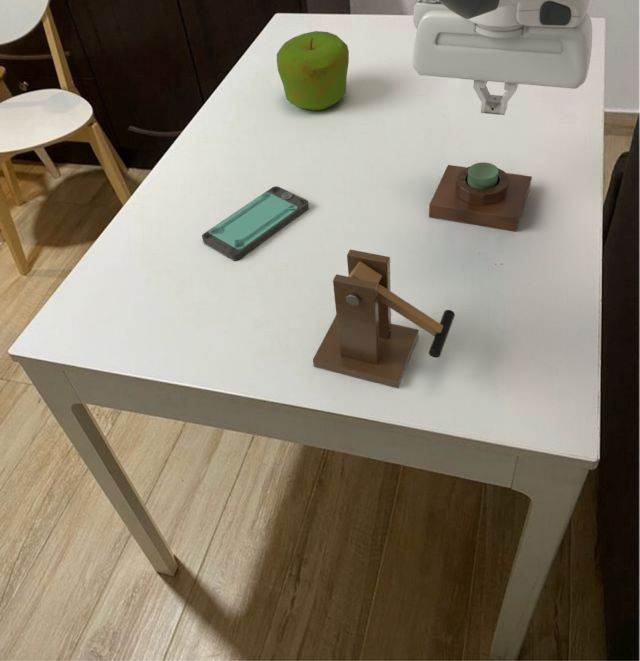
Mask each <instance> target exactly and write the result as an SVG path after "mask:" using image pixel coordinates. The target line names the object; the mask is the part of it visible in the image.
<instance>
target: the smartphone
mask: <svg viewBox="0 0 640 661" xmlns="http://www.w3.org/2000/svg"><path fill="white" fill-rule="evenodd" d="M309 205H310V204H309V201H308V200H307V199H306V198H304V197H301V196H299V195H297V194H295V193H292V192H291V191H288V190H287V189H284V188H283V187H281V186H277V185H276V186H272V187H271V188H269V189H268V190H266V191H265V192H263V193H262V194H260V195H259V196H257V197H256V198H254V199H253V200H251V201H250V202H249V203H247V204H245V205H244V206H242V207H241V208H239V209H238V210H237V211H235V212H233V213H232V214H231V215H228V217H225V219H223V220H221V221H220V222H219V223H217V224H216V225H214V226H213V227H211V228H209V229H208V230H207V231H206V232H203V233H202V235H201V239H202V242H203V244H205V245H207V246H208V247H209V248H212V249H213V250H214V251H216V252H218V253H219V254H222V255H223V256H225V257H227V258H229V259H231V260H232V261H238V260H240V259H241V258H243V257H244V256H245V255H247V254H248V253H250V252H251V251H252V250H254V249H255V248H256V247H258V246H260V245H261V244H262V243H264V241H266V240H268V239H269V238H270V237H272V236H273V235H274V234H276V233H277V232H279V231H280V230H281V229H283V228H284V227H286V226H287V225H289V224H290V223H292V221H294V220H295V219H297V218H298V217H299V216H301V215H302V214H304V213H305V212H307V211H309V208H310V206H309Z"/></svg>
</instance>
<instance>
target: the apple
mask: <svg viewBox="0 0 640 661" xmlns="http://www.w3.org/2000/svg"><path fill="white" fill-rule="evenodd" d="M349 58H350V51H349V47H348V44H346V42H345V41H343V39H341V38H340V37H339V36H338V35H337V34H334V33H331V32H328V31H319V30H314V31H309V32H305V33H301V34H298V35H296V36H294V37H291V38H290V39H288V40H287V41H285V42H284V43H283V44H282V46H281V47H280V48H279V49H278V51H277V53H276V67H277V72H278V75H279V77H280V80H281V83H282V86H283V90H284V94H285V97H286V100H287V101H288V102H289V103H290V104H291V105H293V106H295V107H298V108H301V109H304V110H308V111H309V110H310V111H314V112H315V111H323V110H326V109H329V108H331V107H332V106H334V105H335V104H336V103H337V102H339V101H340V100H341V99H342V98H343V97H344V95H345V94H346V92H347V91H346V90H347V79H348V78H347V76H348V71H349V70H348V69H349V63H350V59H349Z"/></svg>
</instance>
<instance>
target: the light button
mask: <svg viewBox="0 0 640 661" xmlns="http://www.w3.org/2000/svg"><path fill="white" fill-rule="evenodd" d="M469 166H470V168H469V169H468V180H467V182H468V184H469V185H470V186H471V187H473V188H478V189H489V188H493V187H494V186H495V185H496V184H497V181H498V173H499V171H498V168H499V167H497V165H495V164H493V163H490V162H485V161H484V162H483V161H482V162H476V163H473V164H471V165H469Z"/></svg>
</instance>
